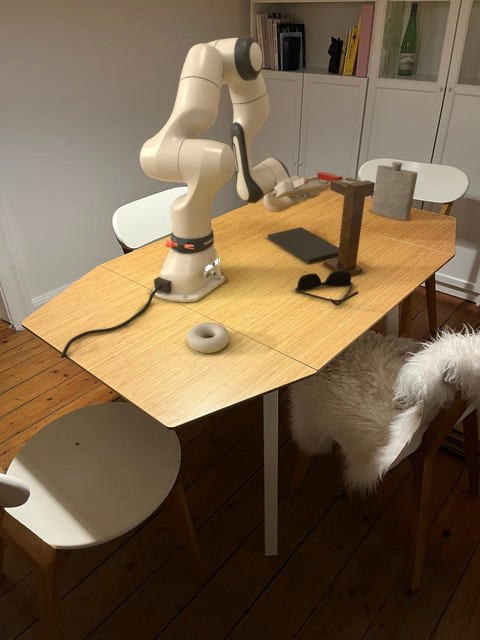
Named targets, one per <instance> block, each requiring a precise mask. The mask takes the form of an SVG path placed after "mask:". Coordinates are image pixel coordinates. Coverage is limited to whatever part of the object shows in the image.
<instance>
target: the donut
mask: <svg viewBox="0 0 480 640" xmlns="http://www.w3.org/2000/svg"><path fill="white" fill-rule="evenodd" d="M186 341H187V344H188V345H189V347H190V348H191V349H193V350H194V351H196V352H199V353H203V354H206V353H207V354H210V353H215V352H218V351H221V350H223V349H224V348H225V347H226V346H227V345H228V344H229V341H230V333H229V330H228V329H227V328H226V327H225V326H224V325H222V324H220V323H217V322H210V321H209V322H201V323H198V324H196V325H194V326H192V327H191V329H189V331H188V332H187V334H186Z"/></svg>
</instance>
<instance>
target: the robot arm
mask: <svg viewBox="0 0 480 640" xmlns="http://www.w3.org/2000/svg"><path fill="white" fill-rule="evenodd" d="M263 65H264V54H263V50H262V47H261V45H260V43H259V42H258V41H257V39H256V38H255V37H253V36H250V35H249V36H248V35H241V36H239V37H230V38H219V39H215V40H213V41H209V42H207V43H204V42H203V43H197V44H195V45H193V46H191V47H190V48H189V51H188V53H187V55H186V56H185V61H184V63H183V66H182V70H181V73H180V77H179V82H178V87H177V88H178V89H177V93H176V97H175V102H174V105H173V109H172V112H171V114H170V117H169V118H168V119H167V121H166V122H165V124H164V125H163V127H162V128H161V129H160V130H159V131H158V133H156V134H155V135H154V136H152V137H151V138H149V139H147V140H146V141H145V142H144V143H143V145H142V146H141V150H140V152H139V164H140V166H141V169H142V171H143V172H144V174H145V175H146V176H147V177H149V178H153V179H154V180H157V181H158V180H159V181H162V182H168V183H169V182H170V183H182V184H183V183H184V184H187V192H186V193H184V194H182V195H180V196H178V197H177V198H175V199H174V200H173V202H171V203H172V204H171V206H170V219H171V228H172V229H171V232H170V233H171V234H170V238H169V239H167V240H166V241H165V247H166V248H169V251H168V253H167V255H166V257H165V260H164V262H163V264H162V266H161V269H160V270H159V271H160V272H159V276H158V277H156V278H154V279H153V283H154V284H153V285H154V287H153V289H152V292H151V293H150V295H149V297H148V300H147V301H146V304H145V305H144V306H143V308H141V309H140V310H139V311H138V312H137V313H135V314H134V315H132V316H131V317H130V318H129V319H127V320H125V321H124V322H122V323H120V324H117V325H115V326H112V327H107V328H98V329H92V330H87V331H83V332H82V333H80V334H77V335H75V336H73V337H72V338H71V339H69V340H68V342H67V343H66V344H65V346H64V348H63V350H62V352H61V354H60V359H64V358H65V357H66V356H67V352H68V350H69V348H70V347H71V345H72V344H73V343H74V342H75V341H78V340H80V339H82V338H84V337H85V336H89V335H93V334H94V335H95V334H102V333H109V332H113V331H117V330H119V329H121V328H123V327H126V326H127V325H129V324H130V323H132V322H133V321H135V320H136V319H137V318H138V317H139V316H141V315H142V314H143V313H145V312H146V310H147V309H148V308H149V306H150V304H151V303H152V301H153V298H154V296H155V297H158V298H160V299H163V300H166V301H171V302H178V303H195V302H197V301H199V300H201V299H202V298H204V297H205V296H206V295H207V294H209V293H210V292H211V291H213V290H215V289H216V288H218V287H219V286H221V284H223V283H224V282H225V281H226V278H225V276H224V275H223V274H222V272H221V271H222V270H221V264H220V262H221V261H220V255H219V253H218V251H217V249H216V248H215V245H214V244H215V234H214V230H213V227H212V226H213V225H212V210H213V209H212V208H213V202H214V199H215V196H216V194H217V193H218V191H219V190H220V189H221V188H222V187H223V186H224V185H225V184H227V183H228V182H229V181H230V180H231V178H232V177H233V175H234V173H235V189H236V190H235V191H236V193H237V195H238V197H239V198H240V199H241V201H243V202H246V203H248V204H257V203H258V202H259V201H261V200H262V199H263V200H262V202H263V206H264V207H265V209H266V210H267V211H269V212H271V213H282V212H284V211H287V210H289V209H291V208H292V207H295V206H298V205H300V204H302V203H304V202H306V201H308V200H311V199H314V198H316V197H319V196H321V193H324V192H325V191H327V190H330V186H331V182H329V181H326V180H322V179H318V178H317V175H313V176H299V175H294V176H290V171H289V170H288V168H287V166H286V165H285V164H284V162H283V161H281V160H280V159H278V158H276V157H272V156H269V157H268V158H266V159H265V160H263V161H262V162H260V163H258V164H257V165H256V166H255V167H253V165H252V157H251V144H252V141H253V139H254V138H255V135H256V134H257V133H258V132H259V130H260V128H262V126H263V125H264V124H265V122H266V121H267V119H268V118H269V114H270V109H271V108H270V97H269V94H268V90H267V86H266V83H265V79H264V75H263V74H262V69H263ZM223 85H228V91H229V94H230V95H229V96H230V100H231V103H232V109H233V119H232V125H231V126H230V131H229V132H230V143H231V146H230V145H229V144H227V143H224V142H221V141H217V140H213V139H201V138H198V136H199V135H201V134H202V133H204V132H206V131H208V130H209V129H211V128H212V127H213V126H214V125H215V123H216V121H217V117H218V112H219V107H220V100H221V94H222V89H223ZM329 173H330V174H333V173H332V172H329ZM74 444H75V446H76V445H79V446H80V443H79V442H75V443H74Z"/></svg>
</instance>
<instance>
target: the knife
mask: <svg viewBox="0 0 480 640" xmlns="http://www.w3.org/2000/svg"><path fill="white" fill-rule="evenodd" d="M330 173H331V172H325V171H320V172H317V175H316V176H317V178H318V179H322V180H326V181H329V182H331V181H334V180H337V181H340V182H342V183H345V184H350V183H355V182H353V181H349V180H345V179H346V178H344V176H341V175H337V174H334V173H332V174H330Z"/></svg>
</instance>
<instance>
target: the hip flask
mask: <svg viewBox="0 0 480 640" xmlns="http://www.w3.org/2000/svg"><path fill="white" fill-rule="evenodd" d="M402 166H403V162H400V161H392V163H391V166H390V165H382V164H381V165H377V169H376V177H375V182H374V183H375V187H374V194H373V197H372V204H371V212H372V213H374V214H377V215H380V216H382V217H387V218H390V219H395V220H398V221H405V222H406V221H409V220H410V217H411V212H412V211H411V210H412V205H413V201H414V195H415V190H416V184H417V178H418V174H419V173H418V171H415V170H407V169H402Z"/></svg>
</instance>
